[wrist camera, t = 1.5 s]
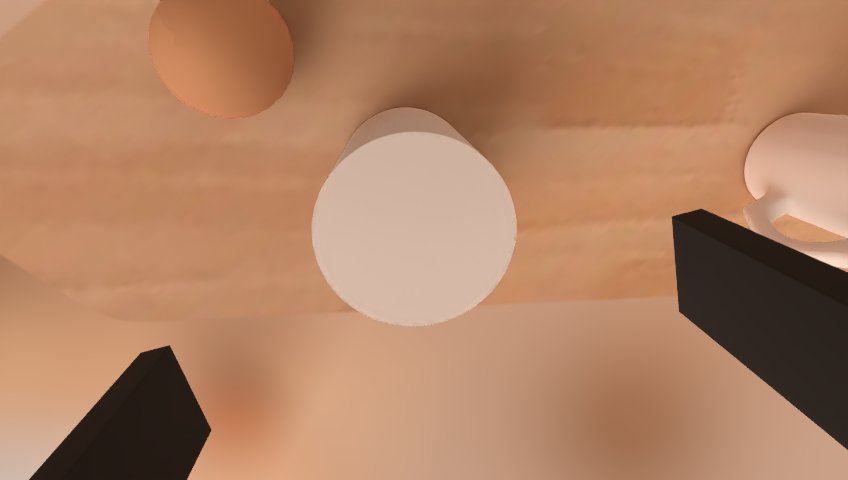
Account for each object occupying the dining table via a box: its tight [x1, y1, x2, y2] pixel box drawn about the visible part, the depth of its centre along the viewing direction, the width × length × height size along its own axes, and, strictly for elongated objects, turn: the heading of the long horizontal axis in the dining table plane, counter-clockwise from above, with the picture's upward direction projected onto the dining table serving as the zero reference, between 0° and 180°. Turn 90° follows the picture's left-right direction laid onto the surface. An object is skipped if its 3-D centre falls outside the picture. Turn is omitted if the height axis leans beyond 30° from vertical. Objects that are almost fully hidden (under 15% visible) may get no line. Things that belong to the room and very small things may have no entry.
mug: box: [743, 113, 848, 269], centre depth 27 cm, size 10×7×12 cm, turn 121°
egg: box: [149, 0, 295, 119], centre depth 24 cm, size 6×6×8 cm
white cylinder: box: [312, 107, 517, 326], centre depth 25 cm, size 8×8×12 cm
